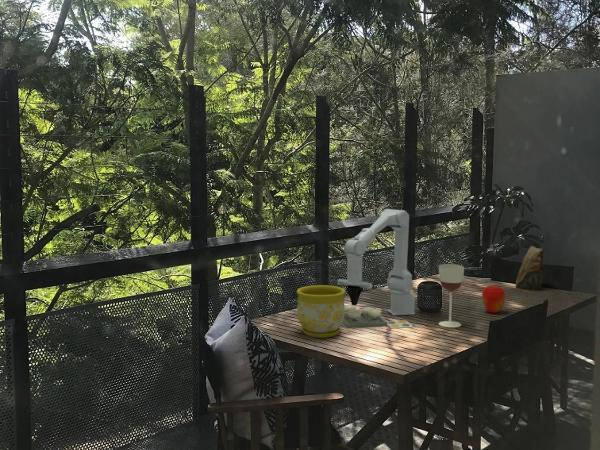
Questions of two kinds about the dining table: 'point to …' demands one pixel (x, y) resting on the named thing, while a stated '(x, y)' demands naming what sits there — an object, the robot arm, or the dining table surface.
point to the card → (398, 324)
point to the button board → (363, 321)
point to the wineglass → (450, 285)
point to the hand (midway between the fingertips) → (354, 304)
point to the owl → (531, 270)
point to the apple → (493, 298)
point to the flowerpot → (321, 310)
